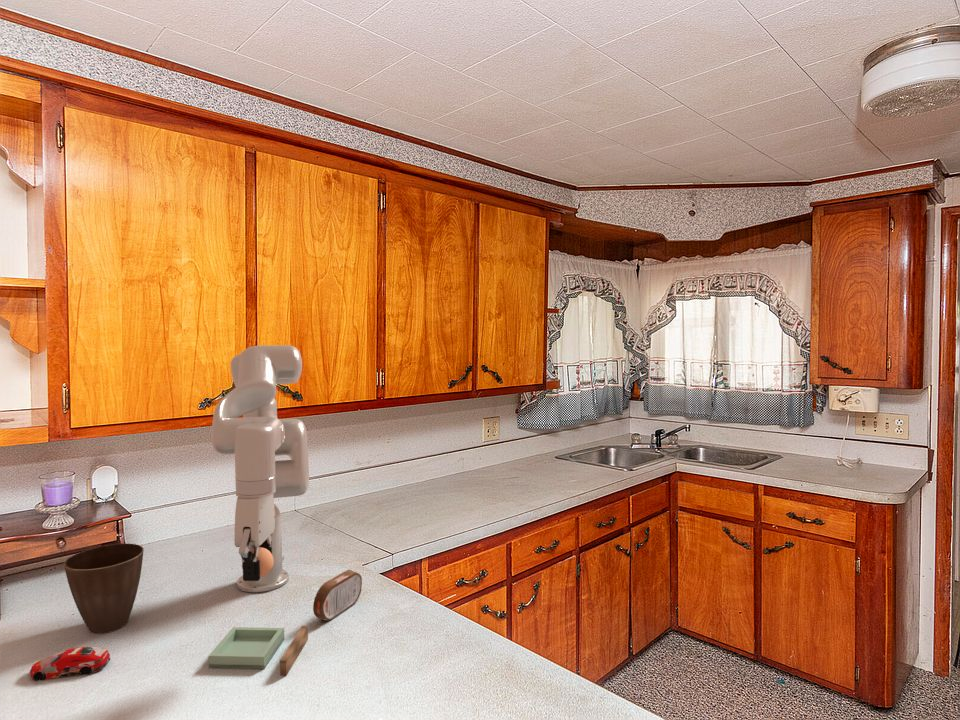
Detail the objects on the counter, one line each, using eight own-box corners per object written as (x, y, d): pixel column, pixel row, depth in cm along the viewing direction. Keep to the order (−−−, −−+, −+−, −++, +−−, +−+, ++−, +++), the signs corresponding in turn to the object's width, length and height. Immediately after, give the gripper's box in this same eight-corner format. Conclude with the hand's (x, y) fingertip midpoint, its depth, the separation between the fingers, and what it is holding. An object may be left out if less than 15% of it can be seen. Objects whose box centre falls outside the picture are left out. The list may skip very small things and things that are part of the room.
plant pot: (65, 650, 123) (61, 575, 122) (69, 620, 136) (65, 551, 135) (148, 631, 131) (145, 559, 130) (144, 603, 144) (141, 538, 143)
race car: (24, 684, 112) (22, 664, 112) (38, 668, 118) (37, 648, 117) (102, 675, 115) (101, 655, 115) (113, 659, 120) (112, 640, 120)
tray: (233, 638, 128) (233, 627, 128) (284, 639, 127) (284, 627, 127) (208, 668, 117) (208, 655, 117) (264, 669, 117) (263, 656, 116)
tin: (354, 597, 147) (353, 563, 147) (364, 599, 146) (364, 566, 145) (312, 625, 134) (311, 588, 133) (323, 628, 132) (322, 591, 132)
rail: (302, 639, 127) (302, 626, 127) (308, 639, 127) (307, 626, 127) (280, 675, 114) (279, 660, 114) (286, 675, 114) (286, 660, 114)
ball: (249, 570, 124) (248, 542, 124) (278, 570, 124) (277, 542, 123) (237, 583, 118) (236, 554, 118) (267, 584, 118) (267, 554, 118)
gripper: (253, 473, 128) (255, 555, 130) (218, 498, 111) (220, 592, 112) (288, 474, 128) (290, 555, 129) (258, 499, 111) (260, 592, 112)
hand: (258, 572), depth 121 cm, fingers closed on ball, 5 cm apart
